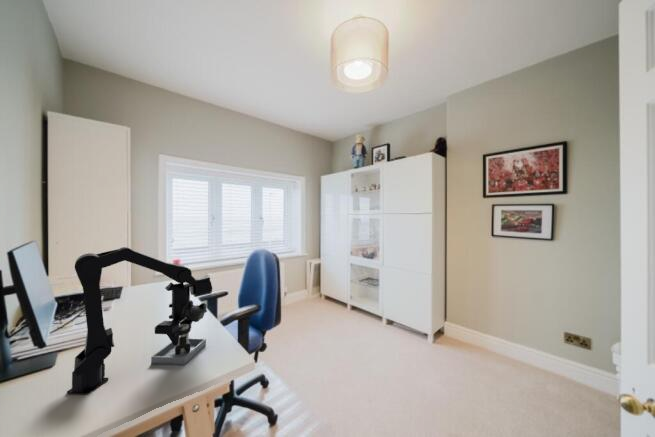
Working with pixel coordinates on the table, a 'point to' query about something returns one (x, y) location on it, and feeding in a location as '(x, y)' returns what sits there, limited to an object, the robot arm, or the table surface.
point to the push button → (183, 340)
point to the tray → (178, 359)
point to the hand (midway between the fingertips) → (180, 341)
